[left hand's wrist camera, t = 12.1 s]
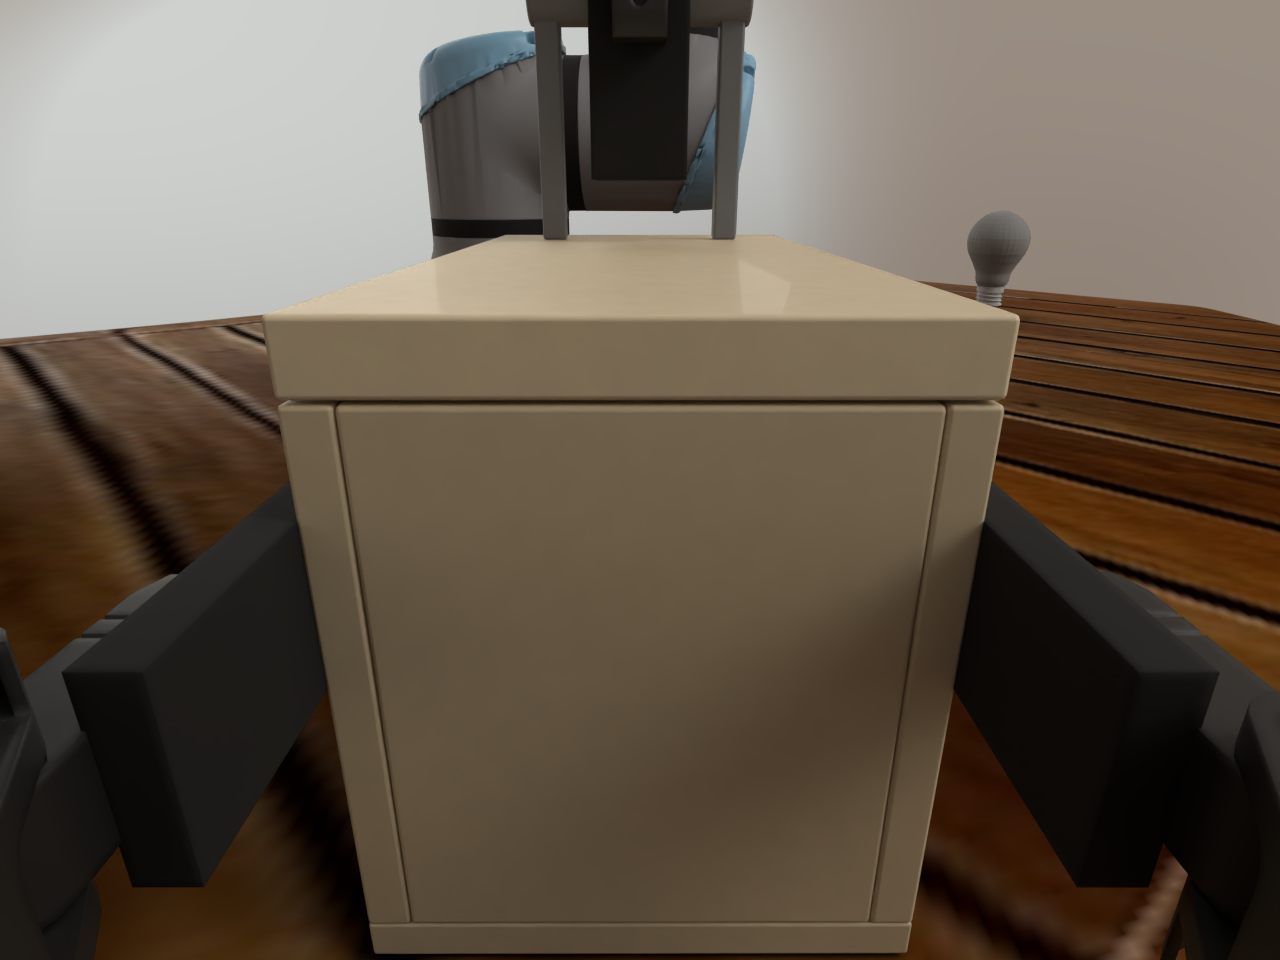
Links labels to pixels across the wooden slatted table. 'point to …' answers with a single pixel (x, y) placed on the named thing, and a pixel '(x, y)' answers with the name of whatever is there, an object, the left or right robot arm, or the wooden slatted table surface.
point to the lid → (640, 300)
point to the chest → (640, 662)
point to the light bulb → (996, 252)
